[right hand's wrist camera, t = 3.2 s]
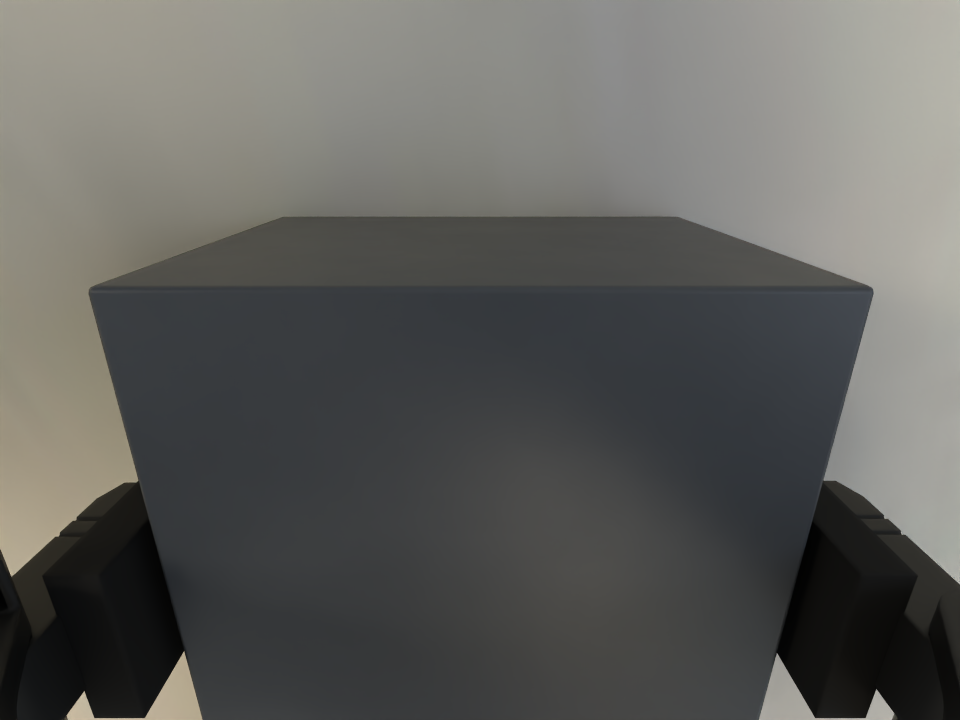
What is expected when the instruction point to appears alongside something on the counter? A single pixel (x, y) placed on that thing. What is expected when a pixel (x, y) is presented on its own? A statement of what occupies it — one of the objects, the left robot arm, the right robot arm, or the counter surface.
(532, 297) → the thick board
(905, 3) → the counter surface
